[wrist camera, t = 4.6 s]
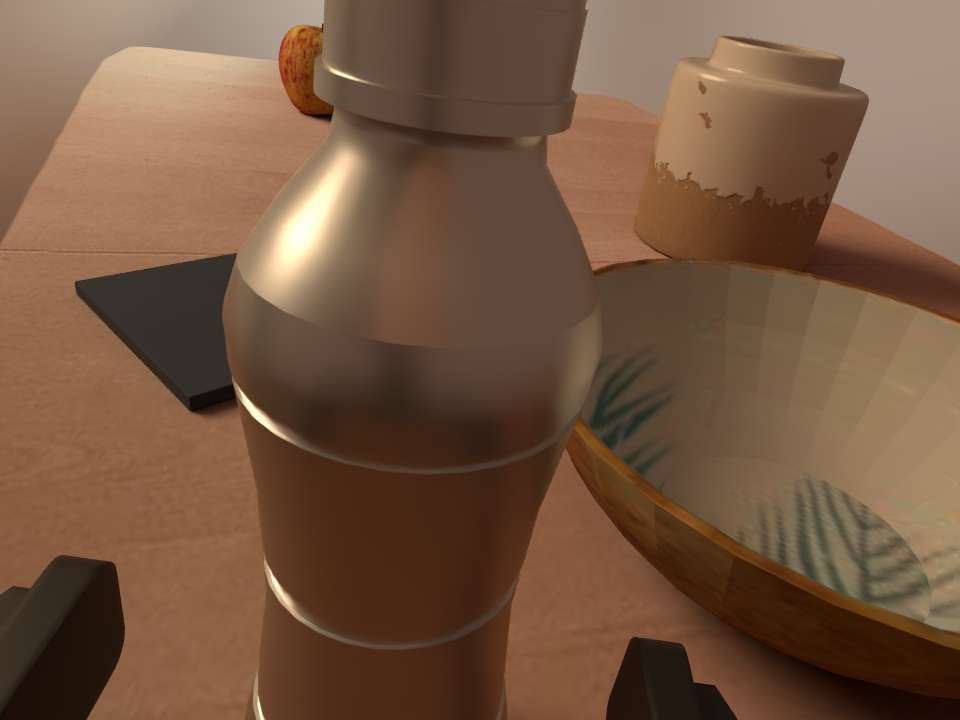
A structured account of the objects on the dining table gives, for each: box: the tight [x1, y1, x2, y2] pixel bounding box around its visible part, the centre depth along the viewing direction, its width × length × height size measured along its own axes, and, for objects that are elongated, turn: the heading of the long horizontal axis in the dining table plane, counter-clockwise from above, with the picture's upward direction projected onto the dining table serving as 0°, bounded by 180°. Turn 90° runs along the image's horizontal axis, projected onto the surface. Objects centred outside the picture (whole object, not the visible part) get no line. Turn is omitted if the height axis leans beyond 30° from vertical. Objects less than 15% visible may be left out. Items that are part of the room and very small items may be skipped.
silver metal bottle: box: [222, 0, 603, 720], centre depth 15 cm, size 6×7×20 cm
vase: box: [635, 36, 869, 272], centre depth 62 cm, size 15×15×17 cm
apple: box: [279, 24, 334, 115], centre depth 86 cm, size 9×9×10 cm
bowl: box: [565, 258, 960, 699], centre depth 30 cm, size 25×25×8 cm
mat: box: [75, 253, 237, 411], centre depth 43 cm, size 16×14×1 cm
